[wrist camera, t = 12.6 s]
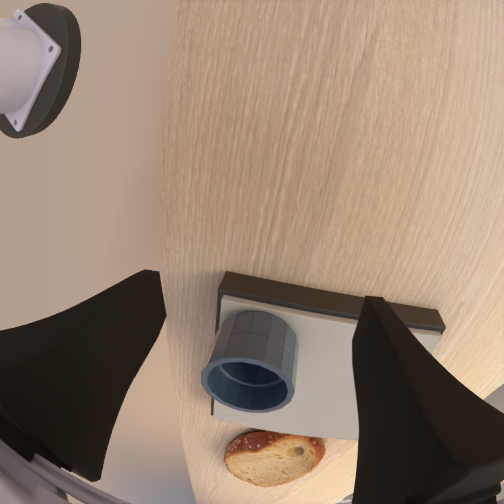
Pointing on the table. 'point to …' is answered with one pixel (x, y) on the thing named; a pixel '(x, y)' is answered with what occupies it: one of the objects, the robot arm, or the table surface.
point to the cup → (252, 363)
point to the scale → (313, 353)
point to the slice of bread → (273, 457)
